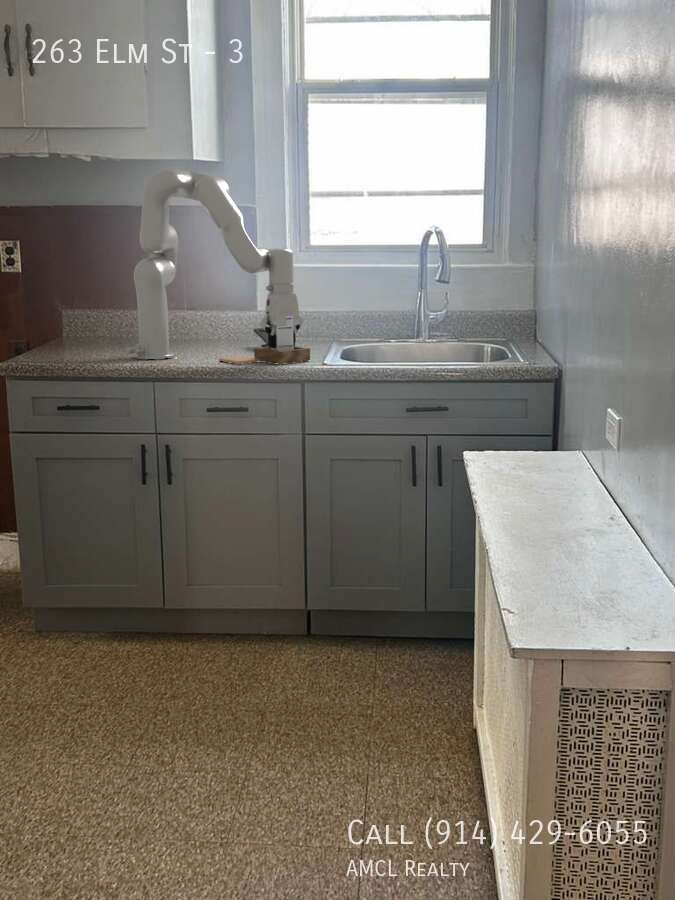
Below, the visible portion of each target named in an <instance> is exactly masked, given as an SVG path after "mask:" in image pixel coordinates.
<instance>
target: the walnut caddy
mask: <svg viewBox="0 0 675 900" xmlns="http://www.w3.org/2000/svg"><path fill="white" fill-rule="evenodd" d="M293 347H294V350H288V351H274V350H271V347H262V348H261V347H256V348H255V347H254V348H253V350H254V351H253V354H254V355H253V357H254V358H259V359H261V361H265V362H271V363H278V364H284V363H292V364H294V363H293V362H300V363H302V362H301V361H307V362H309V361H308V360H310V361H311V348H309V347H302V346H297V345H295V346H293Z"/></svg>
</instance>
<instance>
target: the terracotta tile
mask: <svg viewBox="0 0 675 900" xmlns="http://www.w3.org/2000/svg"><path fill="white" fill-rule="evenodd" d="M219 361H223V362H222V363H224V362H231V363H237V364H242V363H249V362H257V361H261V359H259V358H254V356H249V355H236V356H227V357H219V358H218V362H219ZM231 363H230V364H231ZM237 364H236V365H237ZM242 365H243V364H242Z"/></svg>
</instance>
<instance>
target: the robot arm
mask: <svg viewBox="0 0 675 900" xmlns="http://www.w3.org/2000/svg"><path fill="white" fill-rule="evenodd" d="M142 192H143V193H142V207H141V217H140V219H141V220H140V228H139V230H140V231H139V244H140V247H141V248H142V250H143V251H145V252H146V253H148V257H146V258H144V259H141V260H140V261H139V262H137V264H136V266H135V267H134V271H133V281H134V287H135V292H136V306H137V325H138V327H137V329H138V343H135V346H132V347H126V349H125V352H126V354H128V355H129V354H131V355H132V354H134V358H135V359H136V360H137V359H139V360H148V359H155V360H166V359H165V358H168V359H171V358H174V357H175V353H174V352H173V351H170V336H169V335H170V334H169V330H170V329H169V309H168V296H167V291H166V286H168V285H171V283H172V282H173V281H174V279H175V277H176V273H177V267H178V266H177V264H178V252H179V250H178V249H179V237H178V233H177V230H176V229H175V228H174V227H173V226H172V225H171V224H169V222H170V220H169V219H170V199H171V198H183V199H189V200H193V201H197V202H200V204H201V206H203V208H204V210H205V212H206V213H207V214H208V215H209V217H210V218H211V220H212V222H214V224H215V226H216V227H217V229H218V230H219V232H220V235H221V237H222V239H223V242H224V244H225V246H226V248H227V250H228V251H229V253H230V254H231V256H232V257H233V258H234V260H235V261H236V263H237V264H238V265H239V267H240V268H241V269H242V270H243V271H245V272H246V273H249V274H258V273H263V272H268V281H269V282H268V285H267V286H266V287H265V290H266V291H268V292H269V293H267V296H266V301H265V311H264V312H265V314H264V315H265V316H264V317H263V318H262V319H261V321H260V322H259V326H260V328H263V329H264V331H265V332H266V333H267V334H268V344H269V347H271V348H276V335H274V333H275V330H276V327H278V326H284V325H286V322H287V320H286V319H287V318H286V317H287V316H288V317H289V316H293V346H296V335H297V333H298V330H299V329H300V328H301V327H302V325H303V324H304V322H305V320H304V319H303V317H301V316H300V311H299V301H298V297H297V293H296V292H295V291H294V253H293V251H292V250H291V249H290V248H263V247H256V246H255V245H254V243H253V242H252V240H251V239H250V237H249V235H248V234H247V232H246V230H245V226H244V217H243V213H242V212H241V211H240V209H239V207H237V205H236V204H235V201H233V199H232V198H231V196H230V187H229V184H228V183H227V182H226V181H225V180H224V179H223V178H221V177H219V176H215V175H214V176H212V175H209V174H203V173H198V172H195V171H192V170H191V171H189V170H186V169H179V168H178V169H177V168H164V169H161V170H158V171H156V172H155V173H153V174H152V175H151V176H149V178H148V179H147V180H146V183H145V184H144V188H143V191H142ZM285 318H286V319H285Z"/></svg>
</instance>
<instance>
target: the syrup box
mask: <svg viewBox="0 0 675 900" xmlns="http://www.w3.org/2000/svg"><path fill="white" fill-rule="evenodd" d="M286 318H287V319H286ZM286 318H285V319H286V320H287V322H286V325H284V326H278V327H276V330H275V333H274V335H276V348H271V350H274V351H288V350H294V347H293V316H289V317H288V316H287V317H286Z"/></svg>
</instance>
